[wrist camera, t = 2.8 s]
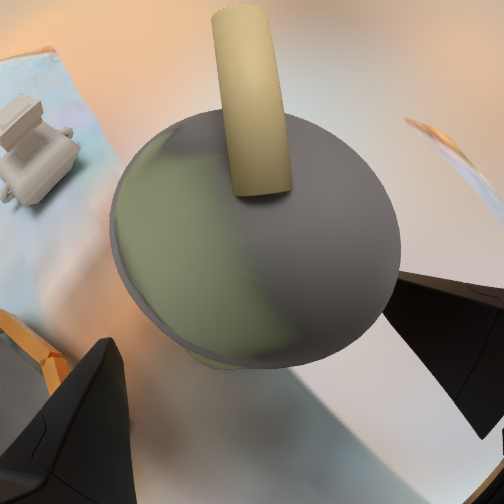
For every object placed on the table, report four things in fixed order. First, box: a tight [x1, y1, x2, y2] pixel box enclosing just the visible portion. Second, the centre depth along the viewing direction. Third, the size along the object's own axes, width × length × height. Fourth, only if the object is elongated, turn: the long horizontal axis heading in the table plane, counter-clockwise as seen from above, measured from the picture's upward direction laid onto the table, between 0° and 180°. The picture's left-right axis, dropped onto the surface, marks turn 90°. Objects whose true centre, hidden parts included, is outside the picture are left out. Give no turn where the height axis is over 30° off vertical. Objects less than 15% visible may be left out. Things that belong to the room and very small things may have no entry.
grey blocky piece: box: [0, 93, 80, 206], centre depth 16 cm, size 9×7×8 cm
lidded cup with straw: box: [110, 4, 401, 370], centre depth 10 cm, size 7×6×16 cm
